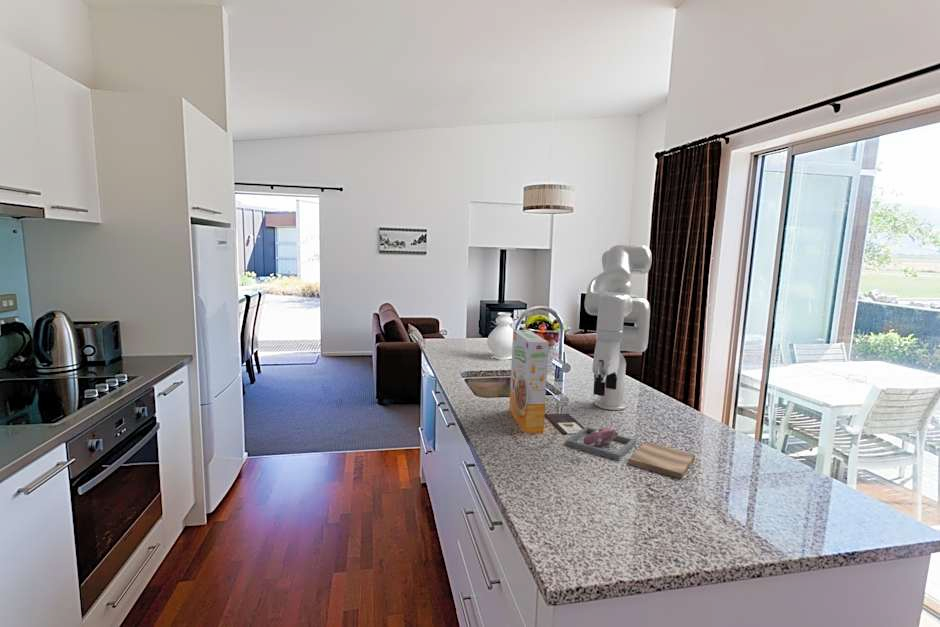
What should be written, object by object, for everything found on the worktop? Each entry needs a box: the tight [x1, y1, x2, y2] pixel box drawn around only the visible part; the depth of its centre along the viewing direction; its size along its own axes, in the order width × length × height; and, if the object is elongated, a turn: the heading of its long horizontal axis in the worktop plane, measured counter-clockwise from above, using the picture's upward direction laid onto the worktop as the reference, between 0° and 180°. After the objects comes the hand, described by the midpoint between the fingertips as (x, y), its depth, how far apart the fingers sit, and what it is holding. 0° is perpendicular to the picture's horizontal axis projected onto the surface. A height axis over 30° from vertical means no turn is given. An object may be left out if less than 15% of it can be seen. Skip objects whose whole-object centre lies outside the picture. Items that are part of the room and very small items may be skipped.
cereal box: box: [508, 329, 550, 434], centre depth 162 cm, size 22×6×30 cm, turn 8°
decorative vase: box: [486, 311, 514, 359], centre depth 260 cm, size 18×18×25 cm
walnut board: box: [628, 441, 696, 480], centre depth 135 cm, size 16×14×2 cm
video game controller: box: [583, 426, 619, 447], centre depth 145 cm, size 10×5×7 cm, turn 118°
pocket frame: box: [565, 426, 637, 461], centre depth 146 cm, size 15×16×2 cm
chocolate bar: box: [544, 413, 591, 436], centre depth 162 cm, size 9×1×18 cm
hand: (604, 391), depth 143 cm, fingers open, 9 cm apart
